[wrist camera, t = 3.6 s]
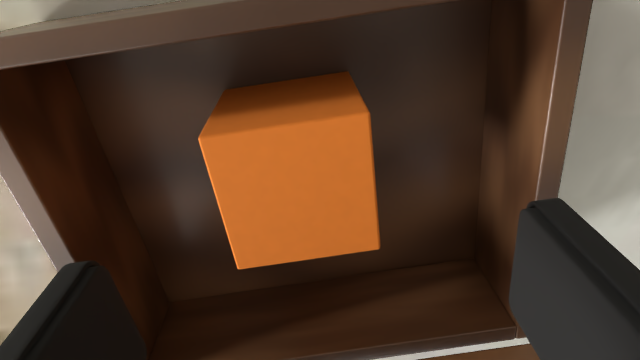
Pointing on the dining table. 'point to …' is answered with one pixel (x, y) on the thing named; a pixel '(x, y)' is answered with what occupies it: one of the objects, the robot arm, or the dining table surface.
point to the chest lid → (495, 354)
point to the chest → (388, 149)
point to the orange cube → (293, 170)
